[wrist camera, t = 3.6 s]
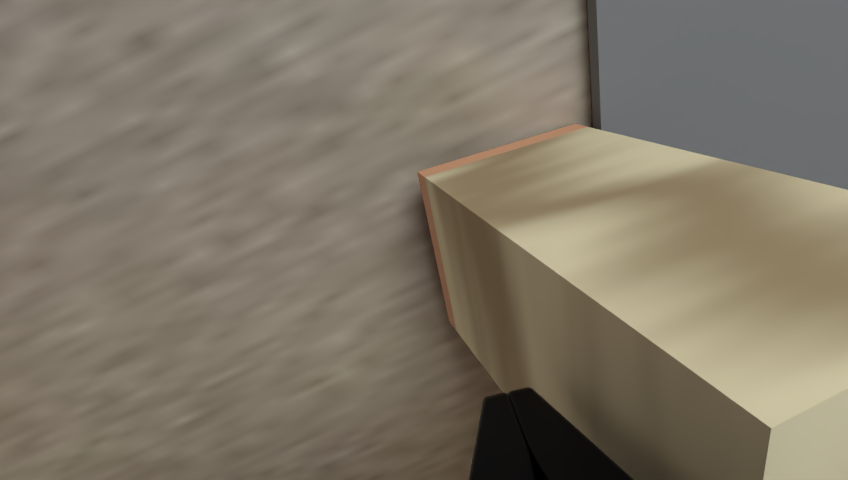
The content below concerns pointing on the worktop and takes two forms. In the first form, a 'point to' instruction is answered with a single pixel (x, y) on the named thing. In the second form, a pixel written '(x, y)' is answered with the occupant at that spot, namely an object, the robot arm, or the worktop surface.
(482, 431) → the robot arm
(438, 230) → the maple block
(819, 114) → the rubber mat
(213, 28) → the worktop surface
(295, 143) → the worktop surface
